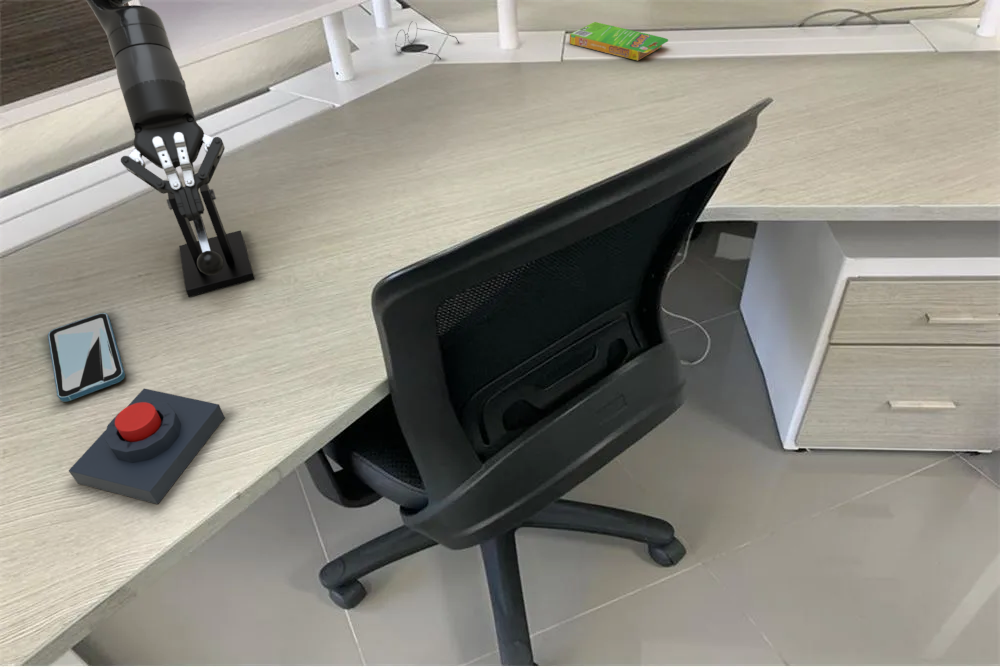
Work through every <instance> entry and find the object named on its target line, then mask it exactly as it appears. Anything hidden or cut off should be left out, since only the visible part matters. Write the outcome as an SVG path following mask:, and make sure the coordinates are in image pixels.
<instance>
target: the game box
mask: <svg viewBox="0 0 1000 667" xmlns="http://www.w3.org/2000/svg"><path fill="white" fill-rule="evenodd" d="M668 42H669V39H668V38H666V37H663V36H657V35H653V34H649V33H646V32H641V31H637V30H632V29H628V28H623V27H620V26H615V25H610V24H606V23H601V22H597V21H593V22H591V23H589V24H586V26H583V27H581V28H579V29H577V30H575V31H573V32H571V33H569V44H570V45H573V46H578V47H581V48H584V49H585V48H586V49H589V50H593V51H597V52H601V53H605V54H610V55H614V56H617V57H622V58H624V59H625V58H626V59H630V60H633V61H637V62H639V61H640V60H641V59H644V58H645V57H647V56H648V55H650V54H652V53H654V52H656V51H657V50H659V49H661V48H662V47H663V45H664V44H666V43H668Z"/></svg>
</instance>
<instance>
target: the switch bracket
mask: <svg viewBox="0 0 1000 667" xmlns="http://www.w3.org/2000/svg"><path fill="white" fill-rule="evenodd" d="M199 193H200V196H201V199H202V202H203V204H204V207H205V209H206V211H207V214H208V217H209V219H210V222H211V225H212V227H213V230H214V233H215V235H216V236H212V237H208V240H209V244H210V247H211V251H214V252H217V253H218V254H219V255H220V256H221V257H222V259H223V268H222V270H221V271H220V272H219V273H218V274H215V275H206V274H204V273H202V272H201V271H200V270H199V269H198V266H197V259H198V257H199V255H200V254H201V253H202V250H201V247H200V243H199V240H198V238H197V235H196V234H195V232H194V229H193V227H192V225H191V224H192V223H191V221H189V220H188V219H187V218H184V217H183V216H182V215H181V214H180V212H179V209H178V206H177V203H176V200H175V197H174V194H172V193H167V199H166V203H167V206H168V209H169V210H170V211H173V214H174V217H175V219H176V221H177V225H178V227H179V229H180V231H181V233H182V236H183V238H184V241H185V243H183V244H180V245H178V248H179V255H180V256H179V257H180V261H181V268H182V274H183V275H182V276H183V282H184V289H185V293H186V295H187V297H188V298H192V297H195V296H199V295H202V294H203V295H204V294H207V293H209V292H214V291H218V290H222V289H225V288H228V287H229V288H230V287H232V286H237V285H240V284H244V283H247V282H251V281H254V280H255V279H256V278H255V274H254V272H253V269H252V264H251V261H250V257H249V256H250V255H249V253H248V249H247V246H246V243H245V239H244V236H243V232H242V230H236V231H232V232H229V233H226V229H225V228H224V225H223V222H222V219H221V217H220V214H219V210H218V208H217V205H216V203H215V200H216V199H217V196H216V193H215V191H214V189H213V188H210V186H209V183H208V184H204V185H202V186H201V187H200V188H199Z"/></svg>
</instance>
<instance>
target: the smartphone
mask: <svg viewBox="0 0 1000 667" xmlns="http://www.w3.org/2000/svg"><path fill="white" fill-rule="evenodd" d="M47 339H48V346H49V353H50V359H51V365H52V370H53V376H54V384H55V390H56V396H57V397H58V400H60V401H61V402H64V403H65V402H66V403H68V402H71V401H74V400H76V399H78V398H81V397H84V396H87V395H89V394H92V393H94V392H98V391H99V390H102V389H105V388H108V387H111V386H113V385H115V384H118V383H120V382H122V381H123V380H124V379H125V378H126V372H125V369H124V365H123V361H122V358H121V354H120V351H119V348H118V343H117V340H116V336H115V332H114V329H113V326H112V322H111V319H110V316H109V315H108V313H106V312H99V313H96V314H93V315H90V316H88V317H84V318H82V319H79V320H75V321H73V322H70V323H67V324H64V325H60V326H58V327H56V328H53V329H51V330H50V331H49V332H48V334H47Z"/></svg>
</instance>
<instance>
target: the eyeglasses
mask: <svg viewBox="0 0 1000 667" xmlns="http://www.w3.org/2000/svg"><path fill="white" fill-rule="evenodd" d="M411 24H412V22H410V23H409V25H408V29H407V31H410V30H409V29H410V26H411ZM415 24H416V26H418V24H417V23H415ZM416 30H420V28H419V27H416ZM423 30H424V31H427V29H426V28H421V31H423ZM401 31H403V33H404V38H405V39H404V42H406V40H407V41H408V43H409V44H411V45H412V44H413V42H415V41H416V39H417V35H418V32H416V34H415V38H414V40H413V42H410V40H409V38H410V35H407V33H406V32H405V30H404V29H400V30H399V31H398V32H397V34H396V36H395V40H397V39H398V35H399V33H400V32H401ZM429 32H435V33H438V34H442V35H446V36H449V37H453V38H455V39H456V42H457V43H458V44H460V41H459V40H458V38H457V36H455V35H452V34H448V33H443V32H439V31H436V30H432V29H429ZM406 35H407V36H406ZM394 45H395V47H397V48H401V49H402V50H401V51H398V49H397V48H395V51H396V53H398V54H401V53H402V52H403V51H404V50H408V51H411V52H415V50H414V49H408V48H406V47H405V46H406V44H404V46H400V45H397V44H394ZM416 52H418V53H421V51H420V50H416ZM422 53H424V54H429V55H435V56H436V57H438V59H439V60H440V61H441V60H442V58H441V57H440V56H439V55H438V54H437V53H433V52H432V53H431V52H425V51H422Z"/></svg>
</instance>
